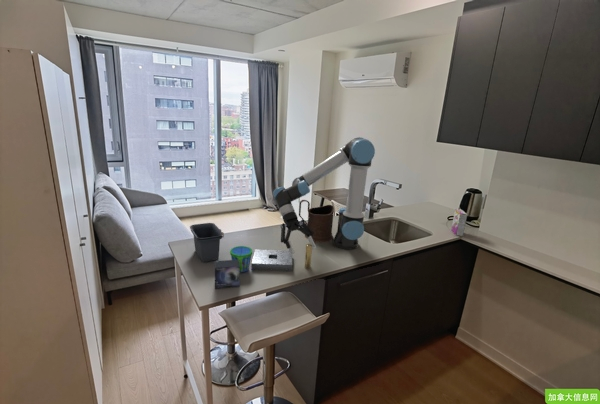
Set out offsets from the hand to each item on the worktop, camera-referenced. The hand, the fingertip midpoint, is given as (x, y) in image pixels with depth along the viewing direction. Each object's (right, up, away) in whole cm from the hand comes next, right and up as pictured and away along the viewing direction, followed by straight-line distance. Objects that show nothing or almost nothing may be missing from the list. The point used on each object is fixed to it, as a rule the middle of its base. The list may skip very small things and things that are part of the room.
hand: (303, 251), depth 154 cm
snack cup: (-31, -8, -5) cm, 32 cm away
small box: (-34, -12, -19) cm, 41 cm away
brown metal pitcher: (+8, +2, +41) cm, 41 cm away
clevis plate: (-16, -7, +3) cm, 18 cm away
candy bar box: (+110, +2, +62) cm, 127 cm away
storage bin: (-51, -3, +8) cm, 52 cm away
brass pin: (+2, -8, +1) cm, 9 cm away
